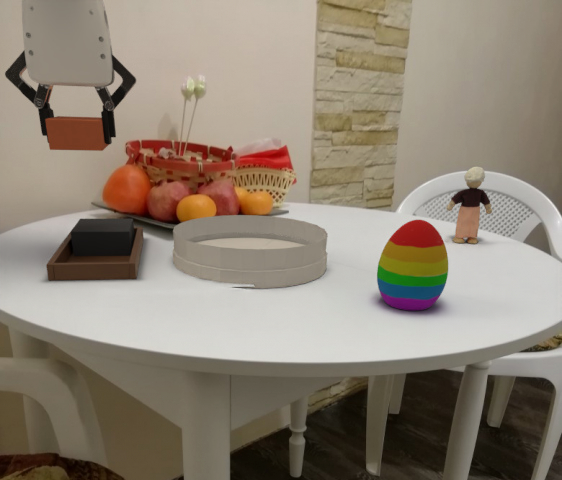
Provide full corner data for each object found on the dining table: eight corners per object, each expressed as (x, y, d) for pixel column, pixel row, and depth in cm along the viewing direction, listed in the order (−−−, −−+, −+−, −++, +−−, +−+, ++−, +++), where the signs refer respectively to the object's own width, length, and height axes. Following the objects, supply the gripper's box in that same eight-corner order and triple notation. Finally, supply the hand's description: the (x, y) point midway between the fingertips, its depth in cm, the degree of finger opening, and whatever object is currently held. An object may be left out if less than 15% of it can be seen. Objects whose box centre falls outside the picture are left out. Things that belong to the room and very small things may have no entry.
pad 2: (73, 256, 78) (70, 231, 76) (82, 241, 86) (79, 218, 84) (131, 255, 79) (129, 231, 77) (135, 240, 87) (133, 218, 86)
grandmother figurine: (478, 239, 100) (492, 165, 94) (487, 244, 96) (503, 168, 90) (437, 239, 99) (450, 164, 93) (446, 244, 95) (459, 167, 90)
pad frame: (49, 285, 68) (45, 264, 67) (75, 243, 87) (73, 226, 85) (136, 283, 70) (134, 263, 68) (143, 243, 88) (142, 226, 87)
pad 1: (49, 149, 68) (45, 118, 66) (61, 143, 76) (57, 116, 74) (103, 150, 69) (99, 120, 67) (109, 144, 77) (106, 117, 75)
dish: (212, 240, 91) (211, 210, 89) (340, 255, 86) (343, 223, 84) (143, 275, 73) (140, 238, 70) (302, 297, 67) (305, 257, 65)
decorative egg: (399, 288, 72) (410, 210, 67) (454, 305, 66) (470, 222, 62) (360, 301, 66) (369, 217, 62) (416, 320, 61) (430, 230, 57)
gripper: (137, -11, 69) (148, 142, 77) (-10, -22, 66) (17, 139, 74) (134, -22, 62) (146, 146, 71) (-30, -35, 59) (3, 143, 67)
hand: (80, 141), depth 72 cm, fingers closed on pad 1, 6 cm apart
